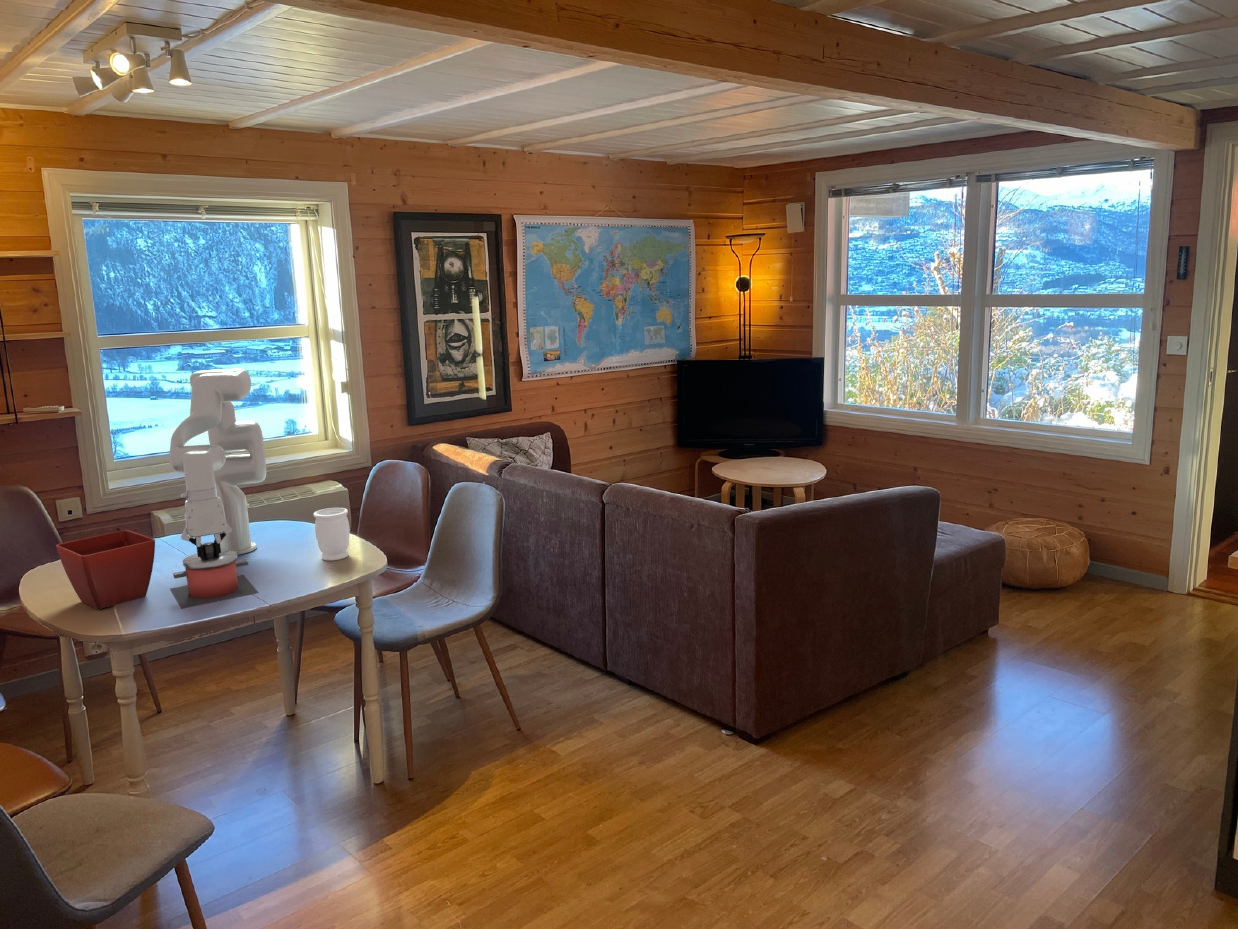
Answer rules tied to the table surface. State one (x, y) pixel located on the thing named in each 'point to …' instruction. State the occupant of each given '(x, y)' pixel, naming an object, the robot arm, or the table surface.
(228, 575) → the pot
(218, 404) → the robot arm
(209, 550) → the lid
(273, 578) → the table surface
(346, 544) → the jar
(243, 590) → the plate
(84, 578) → the plant pot
